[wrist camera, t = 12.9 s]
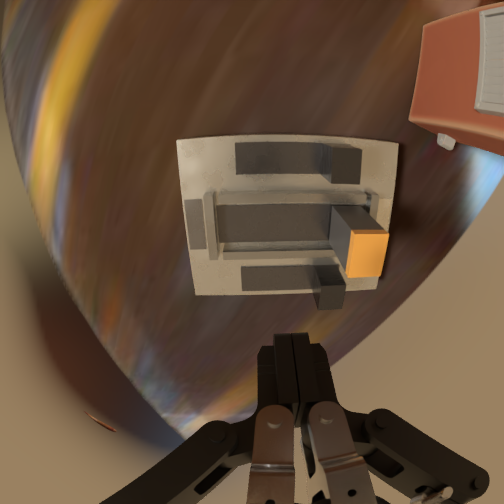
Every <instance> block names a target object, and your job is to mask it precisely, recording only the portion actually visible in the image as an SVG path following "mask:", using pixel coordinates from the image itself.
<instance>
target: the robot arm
mask: <svg viewBox="0 0 504 504" xmlns="http://www.w3.org/2000/svg"><path fill="white" fill-rule="evenodd" d="M257 360H258V406H257V409H256V411H255V413H254V414H253V415H252V416H251V417H249V418H248V419H246V420H243V421H240V422H237V423H233V424H229V423H227V422H225V421H219V420H217V421H211V422H208V423H206V424H205V425H203V426H202V427H201V428H200V429H199V430H198V431H196V432H195V433H194V434H193V435H192V436H191V437H189V438H188V439H187V440H186V441H185V442H184V443H182V444H181V445H180V446H179V447H177V448H176V449H175V450H174V451H173V452H171V453H170V454H169V455H167V456H166V457H165V458H164V459H162V460H161V461H160V462H158V463H157V464H156V465H155V466H153V467H152V468H151V469H149V470H148V471H146V472H145V473H144V474H143V475H141V476H140V477H138V478H137V479H135V480H134V481H133V482H131V483H130V484H128V485H127V486H125V487H124V488H122V489H121V490H119V491H118V492H116V493H115V494H113V495H112V496H110V497H109V498H107V499H106V500H104V501H102V502H101V503H99V504H196V503H198V502H199V501H200V500H201V499H203V498H204V497H205V496H206V495H207V494H208V493H210V492H211V491H212V490H213V489H214V488H215V487H216V486H218V485H219V484H220V483H221V482H222V481H223V480H224V479H225V478H226V477H227V476H228V475H229V474H230V473H231V472H233V471H234V470H235V469H236V468H237V467H238V466H240V465H244V464H247V463H251V462H252V464H251V468H250V475H249V484H248V493H247V502H246V504H298V503H294V493H295V469H294V425H295V427H301V434H302V437H301V440H300V444H301V449H302V455H303V460H304V465H305V471H306V476H307V495H308V501H309V504H390V503H389V502H387V501H385V500H384V499H382V498H380V497H378V496H375V494H374V490H373V486H372V483H371V479H370V475H369V472H368V470H369V471H370V472H371V473H373V474H374V475H376V476H377V477H378V478H380V479H381V480H383V481H384V482H386V483H387V484H389V485H390V486H392V487H393V488H395V489H396V490H398V491H399V492H401V493H403V494H404V495H406V496H407V497H409V498H410V499H411V501H410V504H467V503H468V502H469V501H472V500H474V499H476V498H478V497H480V496H482V495H483V494H484V493H485V492H486V490H487V488H488V486H489V475H488V473H487V471H485V470H484V469H483V468H481V467H479V466H477V465H476V464H474V463H472V462H470V461H469V460H467V459H465V458H464V457H462V456H460V455H458V454H457V453H455V452H453V451H452V450H450V449H448V448H447V447H445V446H444V445H442V444H440V443H439V442H437V441H436V440H434V439H432V438H431V437H429V436H428V435H426V434H424V433H423V432H422V431H420V430H418V429H417V428H415V427H414V426H412V425H411V424H409V423H408V422H406V421H405V420H403V419H402V418H400V417H399V416H397V415H396V414H394V413H393V412H391V411H390V410H387V409H376V410H373V411H372V412H370V413H369V414H363V413H356V412H351V411H348V410H346V409H344V408H343V407H342V406H341V405H340V404H339V402H338V400H337V397H336V393H335V388H334V384H333V379H332V375H331V371H330V366H329V363H328V358H327V354H326V351H325V350H324V348H323V347H322V346H321V345H320V343H315V344H310V340H309V336H308V333H307V332H305V333H291V335H290V333H286V334H274V336H273V346H262V347H261V349H260V351H259V353H258V355H257Z"/></svg>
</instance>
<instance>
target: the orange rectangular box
mask: <svg viewBox="0 0 504 504" xmlns="http://www.w3.org/2000/svg"><path fill="white" fill-rule="evenodd" d="M409 121H410V122H412V123H414V124H416V125H418V126H420V127H422V128H424V129H426V130H428V131H430V132H432V133H434V134H436V135H438V139H437V143H438V144H439V145H440V146H442V147H444V148H446V149H447V150H452V149H453V147H454V145H455V142H459V143H462V144H466V145H470V146H473V147H476V148H480V149H483V150H486V151H489V152H492V153H495V154H498V155H501V156H504V2H499V3H494V4H490V5H485V6H481V7H477V8H474V9H470V10H467V11H463V12H460V13H457V14H453V15H450V16H447V17H444V18H441V19H439V20H436V21H433V22H430V23H428V24H425V25H424V26H423V33H422V42H421V51H420V59H419V66H418V72H417V78H416V84H415V89H414V95H413V100H412V105H411V109H410V114H409Z"/></svg>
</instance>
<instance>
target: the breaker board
mask: <svg viewBox="0 0 504 504" xmlns="http://www.w3.org/2000/svg"><path fill="white" fill-rule="evenodd" d="M398 144H399V143H395V142H391V141H385V140H377V139H368V138H358V137H347V136H333V135H316V134H235V135H217V136H203V137H192V138H182V139H179V140H177V152H178V163H179V174H180V184H181V193H182V202H183V211H184V219H185V227H186V234H187V242H188V249H189V256H190V262H191V269H192V275H193V281H194V287H195V293H196V295H256V294H291V293H313V295H314V298H315V302H316V305H317V308H318V310H331V309H342V306H343V301H344V296H345V291H352V290H368V289H376V287H377V283H378V278H379V276H375V277H357V278H348V277H347V275H346V273H345V271H344V269H343V267H342V265H341V263H340V261H339V260H338V258H337V256H336V254H335V252H334V250H333V248H332V247H331V245H330V243H329V235H330V225H331V213H332V206H361V207H362V208H363V209H364V210H365V211H366V212H367V213H368V214H369V215H370V216H371V217H372V218H373V219H375V220H376V221H377V222H378V223H379V224H380V225H381V226H382V227H383V228H384V229H385V230H386V231H387V232H388V230H389V224H390V217H391V211H392V204H393V197H394V189H395V180H396V170H397V158H398Z"/></svg>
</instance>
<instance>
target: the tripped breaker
mask: <svg viewBox="0 0 504 504" xmlns="http://www.w3.org/2000/svg"><path fill="white" fill-rule="evenodd" d="M388 238H389V233H388V232H387V231H386V230H385V229H384V228H383V227H382V226H381V225H380V224H379V223H378V222H377V221H376V220H375V219H373V218H372V217H371V216H370V215H369V214H368V213H367V212H366V211H365V210H364V209H363V208H362V207H361V206H332V213H331V225H330V235H329V243H330V245H331V247H332V248H333V250H334V252H335V254H336V256H337V258H338V260H339V261H340V263H341V265H342V267H343V269H344V271H345V273H346V275H347V277H348V278H357V277H375V276H381V272H382V268H383V263H384V258H385V254H386V249H387V244H388Z"/></svg>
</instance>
